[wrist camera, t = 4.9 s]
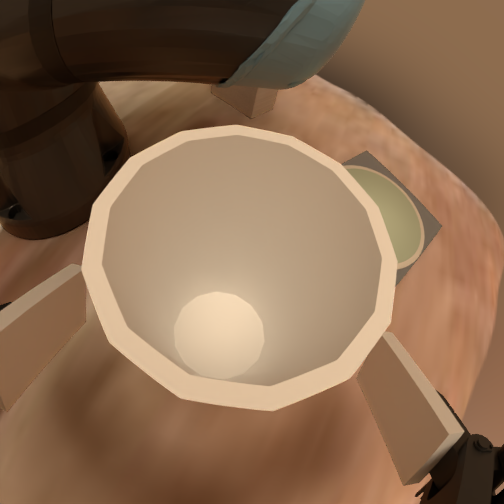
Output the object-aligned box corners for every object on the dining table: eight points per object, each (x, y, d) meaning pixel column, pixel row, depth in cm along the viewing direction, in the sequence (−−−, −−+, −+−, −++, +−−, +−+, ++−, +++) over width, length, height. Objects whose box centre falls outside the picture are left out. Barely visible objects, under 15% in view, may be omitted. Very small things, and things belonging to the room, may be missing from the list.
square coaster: (278, 202, 26) (281, 196, 25) (364, 153, 32) (367, 148, 31) (376, 307, 23) (380, 304, 22) (439, 228, 29) (443, 224, 28)
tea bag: (250, 119, 31) (269, 39, 23) (211, 93, 33) (220, 19, 24) (272, 109, 33) (293, 35, 24) (233, 84, 34) (245, 16, 26)
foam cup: (310, 320, 21) (421, 218, 10) (241, 431, 17) (315, 474, 6) (201, 249, 23) (213, 98, 11) (121, 347, 18) (25, 256, 7)
